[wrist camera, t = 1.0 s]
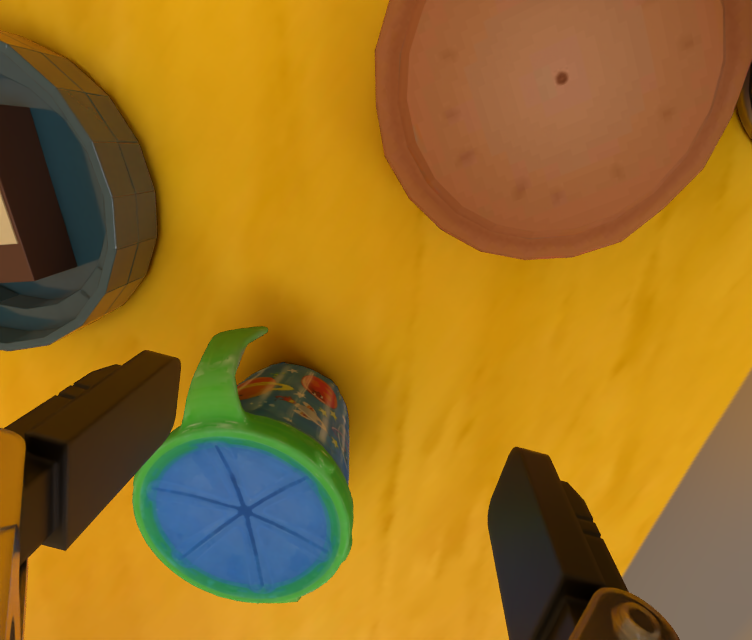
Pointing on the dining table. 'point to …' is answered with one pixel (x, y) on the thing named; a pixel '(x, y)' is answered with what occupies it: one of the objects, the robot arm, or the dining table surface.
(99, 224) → the snack bowl
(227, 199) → the dining table surface
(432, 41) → the pie
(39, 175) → the oat bar
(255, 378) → the snack cup
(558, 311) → the dining table surface
